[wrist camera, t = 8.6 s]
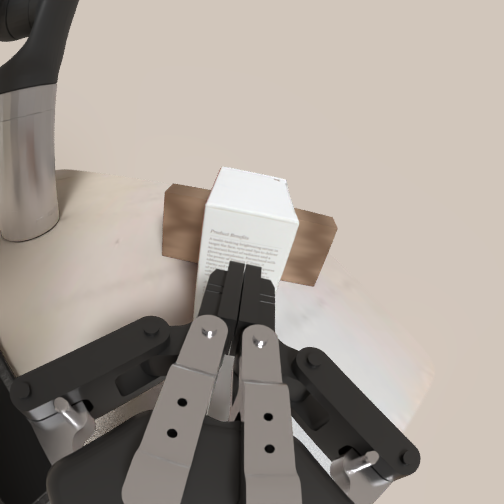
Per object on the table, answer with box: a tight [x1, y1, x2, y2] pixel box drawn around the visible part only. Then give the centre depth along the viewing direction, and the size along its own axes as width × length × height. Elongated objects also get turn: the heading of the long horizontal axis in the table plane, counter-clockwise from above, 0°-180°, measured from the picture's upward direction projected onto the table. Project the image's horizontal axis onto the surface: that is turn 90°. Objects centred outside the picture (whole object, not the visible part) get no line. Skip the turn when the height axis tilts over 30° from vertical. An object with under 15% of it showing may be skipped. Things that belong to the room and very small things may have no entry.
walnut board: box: [162, 184, 337, 286], centre depth 27 cm, size 16×2×7 cm, turn 86°
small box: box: [193, 167, 299, 321], centre depth 21 cm, size 8×6×10 cm
